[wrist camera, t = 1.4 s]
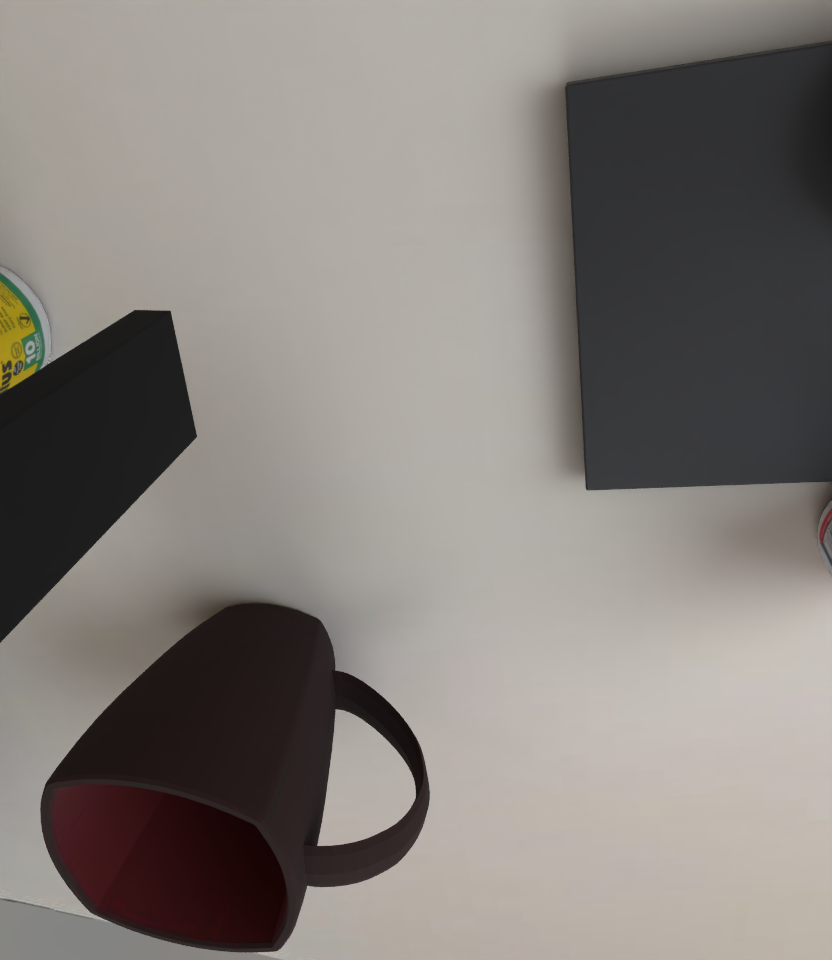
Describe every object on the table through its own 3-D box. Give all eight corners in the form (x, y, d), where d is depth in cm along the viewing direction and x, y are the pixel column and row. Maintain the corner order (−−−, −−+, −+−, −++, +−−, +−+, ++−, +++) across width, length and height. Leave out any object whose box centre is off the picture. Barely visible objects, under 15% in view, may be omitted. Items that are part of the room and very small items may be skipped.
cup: (169, 555, 37) (11, 758, 26) (458, 593, 35) (408, 828, 24) (195, 705, 42) (71, 923, 31) (450, 745, 40) (405, 992, 29)
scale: (565, 66, 24) (563, 70, 21) (1077, -17, 21) (1147, -24, 18) (585, 475, 31) (586, 516, 28) (972, 460, 27) (1013, 503, 25)
